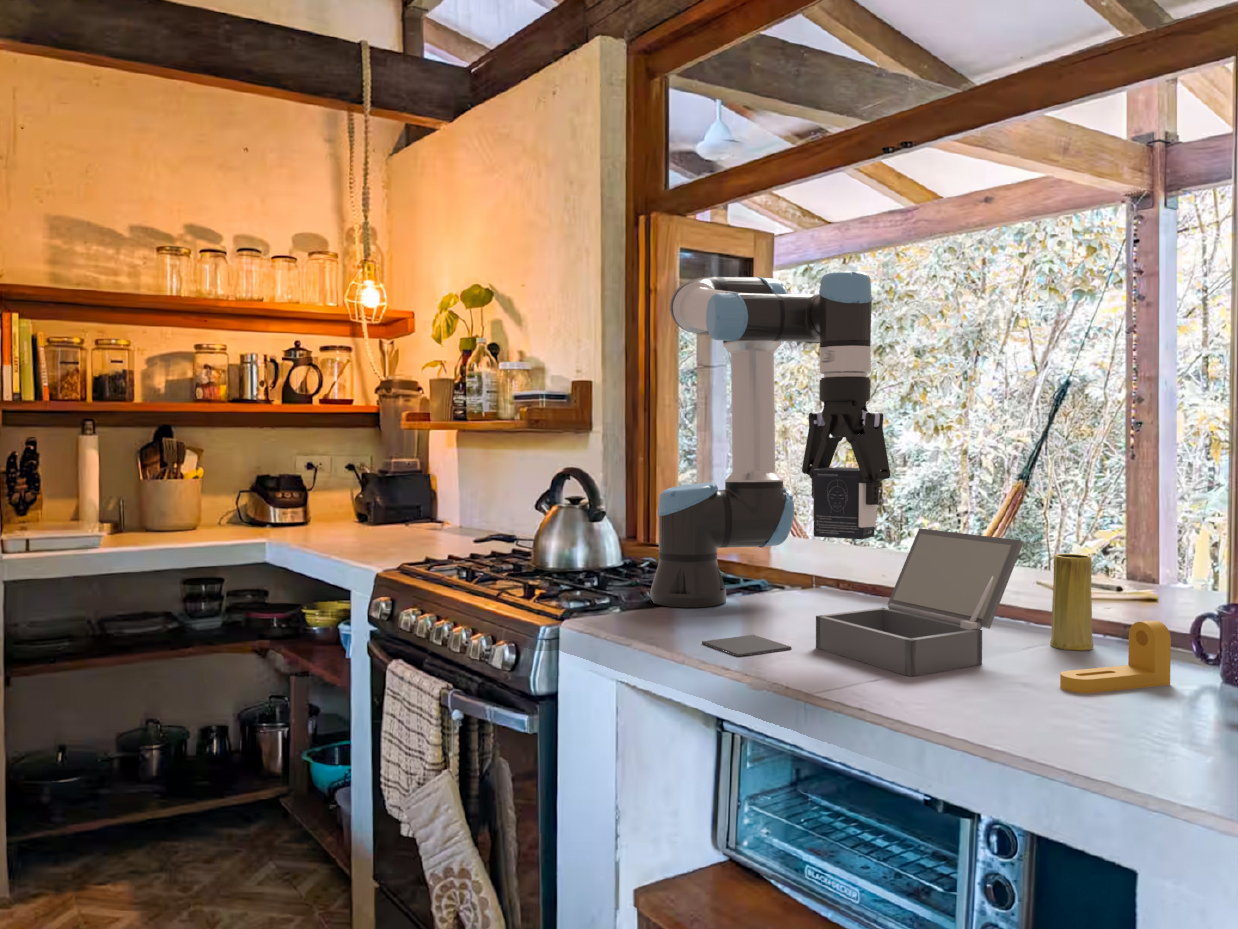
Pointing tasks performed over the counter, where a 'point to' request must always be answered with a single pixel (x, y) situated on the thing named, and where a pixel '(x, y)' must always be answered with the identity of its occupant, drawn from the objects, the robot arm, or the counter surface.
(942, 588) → the case
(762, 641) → the mat
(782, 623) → the counter surface
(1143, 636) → the bracket
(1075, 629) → the vase
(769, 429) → the robot arm
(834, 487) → the box
